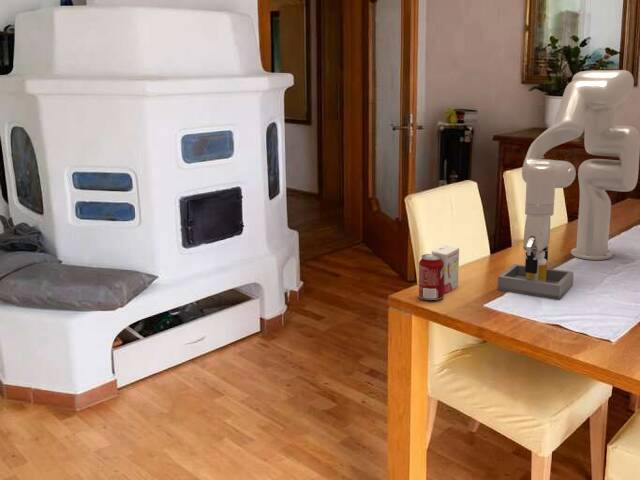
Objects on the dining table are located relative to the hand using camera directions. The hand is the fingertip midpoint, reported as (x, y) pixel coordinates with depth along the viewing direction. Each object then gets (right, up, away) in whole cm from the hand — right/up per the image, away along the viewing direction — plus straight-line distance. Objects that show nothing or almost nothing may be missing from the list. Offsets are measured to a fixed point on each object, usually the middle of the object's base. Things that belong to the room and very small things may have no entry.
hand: (536, 268), depth 186 cm
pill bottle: (0, -5, +2) cm, 5 cm away
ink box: (-25, -6, +3) cm, 26 cm away
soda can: (-30, -8, -4) cm, 32 cm away
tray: (0, -6, +1) cm, 6 cm away
